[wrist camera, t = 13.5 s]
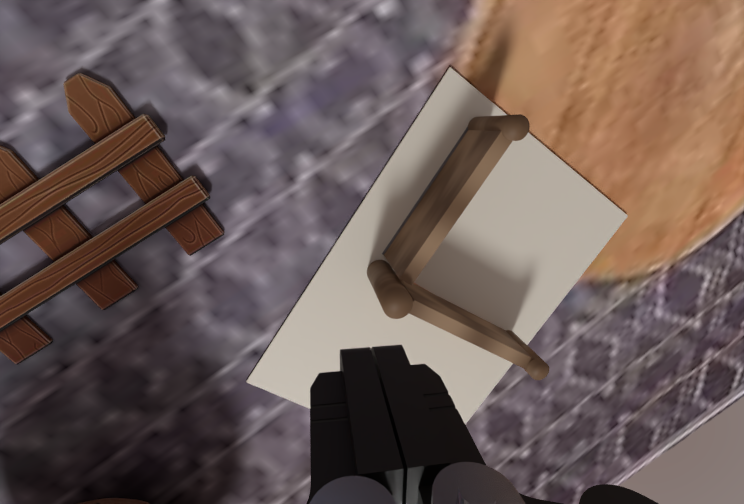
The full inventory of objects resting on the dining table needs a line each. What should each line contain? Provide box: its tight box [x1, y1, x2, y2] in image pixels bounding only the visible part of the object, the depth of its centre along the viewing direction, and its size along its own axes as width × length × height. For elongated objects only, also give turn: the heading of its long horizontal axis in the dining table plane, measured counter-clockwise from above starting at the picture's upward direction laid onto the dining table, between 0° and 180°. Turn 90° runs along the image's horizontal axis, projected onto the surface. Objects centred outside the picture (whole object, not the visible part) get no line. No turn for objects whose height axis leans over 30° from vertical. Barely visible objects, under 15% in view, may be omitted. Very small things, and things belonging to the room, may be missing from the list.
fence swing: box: [398, 277, 549, 380], centre depth 36 cm, size 15×2×6 cm, turn 59°
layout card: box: [246, 67, 628, 424], centre depth 39 cm, size 34×24×1 cm
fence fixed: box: [367, 115, 529, 319], centre depth 33 cm, size 18×2×8 cm, turn 146°
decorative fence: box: [0, 73, 224, 364], centre depth 31 cm, size 23×2×15 cm
